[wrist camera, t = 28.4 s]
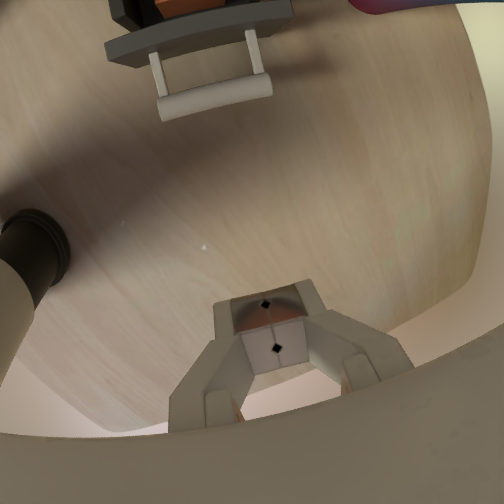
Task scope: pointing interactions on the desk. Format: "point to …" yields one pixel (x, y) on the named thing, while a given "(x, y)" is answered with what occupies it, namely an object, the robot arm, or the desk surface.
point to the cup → (403, 4)
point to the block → (185, 6)
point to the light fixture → (27, 274)
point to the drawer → (196, 47)
